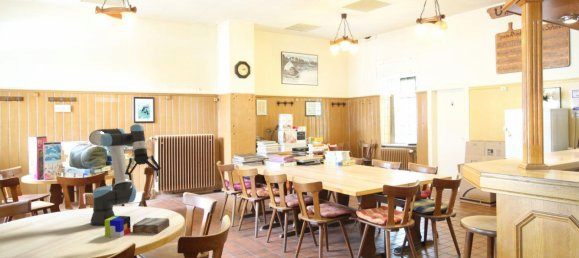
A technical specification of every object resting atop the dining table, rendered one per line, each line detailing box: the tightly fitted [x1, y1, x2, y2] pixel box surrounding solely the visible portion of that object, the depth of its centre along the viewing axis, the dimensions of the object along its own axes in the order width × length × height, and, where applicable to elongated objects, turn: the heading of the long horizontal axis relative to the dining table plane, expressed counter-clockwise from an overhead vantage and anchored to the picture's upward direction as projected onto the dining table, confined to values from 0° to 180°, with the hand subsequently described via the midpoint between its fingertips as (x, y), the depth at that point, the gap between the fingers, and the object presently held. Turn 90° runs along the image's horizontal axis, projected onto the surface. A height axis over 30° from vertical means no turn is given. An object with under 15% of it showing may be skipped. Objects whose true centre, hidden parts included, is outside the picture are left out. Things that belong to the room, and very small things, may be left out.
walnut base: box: [132, 217, 170, 234], centre depth 247 cm, size 16×16×5 cm
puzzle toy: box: [104, 215, 132, 239], centre depth 237 cm, size 10×10×10 cm
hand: (145, 183), depth 239 cm, fingers open, 13 cm apart
